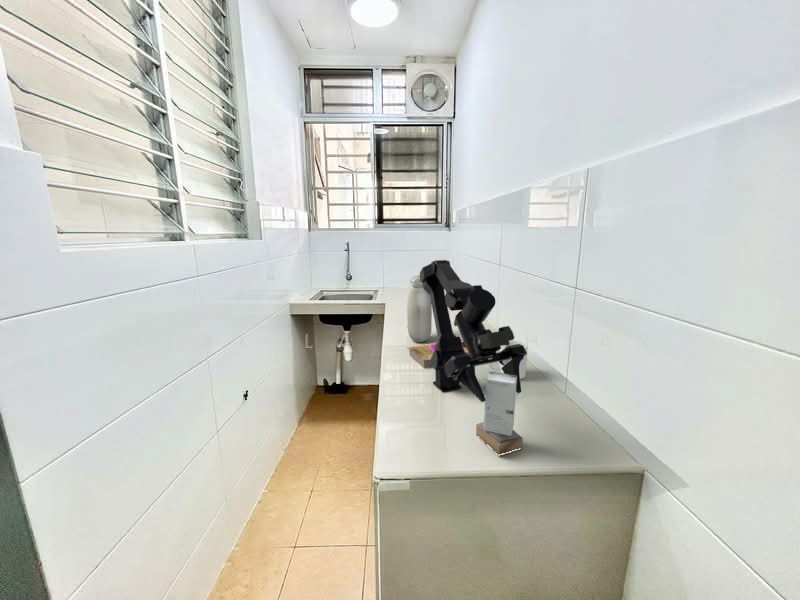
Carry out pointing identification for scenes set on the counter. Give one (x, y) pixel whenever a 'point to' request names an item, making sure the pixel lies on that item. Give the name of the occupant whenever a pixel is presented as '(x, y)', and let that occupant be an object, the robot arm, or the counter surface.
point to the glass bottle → (419, 311)
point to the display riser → (499, 440)
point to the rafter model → (423, 350)
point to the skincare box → (500, 403)
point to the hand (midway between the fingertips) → (502, 397)
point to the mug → (522, 364)
